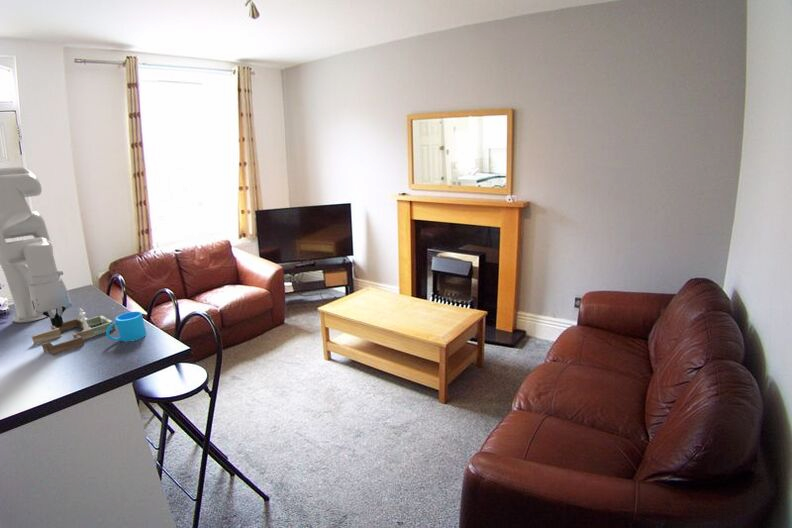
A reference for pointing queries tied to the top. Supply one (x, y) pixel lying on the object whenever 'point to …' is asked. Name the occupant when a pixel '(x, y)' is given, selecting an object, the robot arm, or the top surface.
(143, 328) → the mug
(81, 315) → the chess piece
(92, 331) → the box
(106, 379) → the top surface
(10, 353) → the top surface
